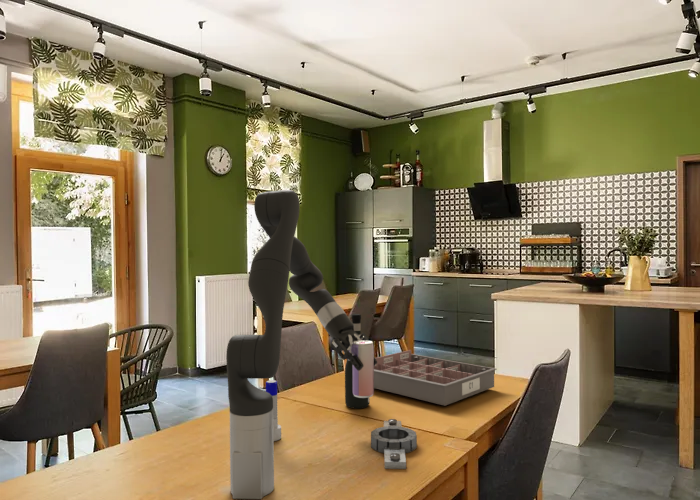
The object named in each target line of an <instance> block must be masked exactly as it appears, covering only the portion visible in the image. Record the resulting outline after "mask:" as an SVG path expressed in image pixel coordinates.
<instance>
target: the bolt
mask: <svg viewBox="0 0 700 500" xmlns="http://www.w3.org/2000/svg"><path fill="white" fill-rule="evenodd" d="M265 391H266V392H268V393H270V394H271V395H272V398H273V442H277V441H279V440H281V438H282V425H280V424H278V423H279V422H278V421H279V420H278V419H279V418H278V415H279V413H278V381H277V380H275V379H271V380H267V381H266V382H265Z"/></svg>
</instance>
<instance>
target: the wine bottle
mask: <svg viewBox="0 0 700 500" xmlns="http://www.w3.org/2000/svg"><path fill="white" fill-rule="evenodd" d="M361 320H362V315H361V314H360V313H353V314H351V321H352V323H353V324H354V331H355V332H356V333H357V334H358V335H361V334H362V333H361V332H362V331H361V327H362V326H361V322H362V321H361ZM370 398H371V397H368V398H358V397H355V396H354V395H353V364H352V363H351V361H349V360H348V359H346V362H345V368H344V402H345V405H346V406H347V407H348V408H350V409H365V408H367V407H369V405H370Z"/></svg>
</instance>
